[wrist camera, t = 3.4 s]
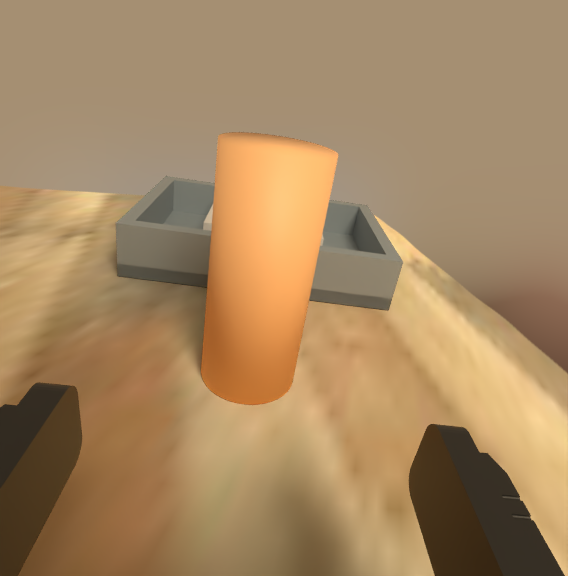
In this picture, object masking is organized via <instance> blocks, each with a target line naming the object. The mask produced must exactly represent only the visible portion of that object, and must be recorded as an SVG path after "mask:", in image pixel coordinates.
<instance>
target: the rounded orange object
mask: <svg viewBox="0 0 568 576" xmlns="http://www.w3.org/2000/svg"><path fill="white" fill-rule="evenodd" d="M337 159H338V154H337V153H336V152H335V151H333V150H331V149H329V148H327V147H324V146H321V145H318V144H314V143H311V142H307V141H302V140H298V139H293V138H287V137H281V136H275V135H268V134H259V133H244V132H232V133H223V134H220V135H219V136H218V147H217V160H216V174H215V187H214V201H213V215H212V228H211V242H210V256H209V270H208V283H207V297H206V311H205V324H204V338H203V352H202V365H201V375H202V379H203V381H204V383H205V384H206V386H207V387H208V388H209V389H210V390H211V391H212V392H213V393H214V394H216V395H218V396H219V397H221V398H223V399H225V400H228V401H231V402H235V403H239V404H248V405H256V404H264V403H268V402H272V401H274V400H276V399H278V398H280V397H282V396H283V395H284V394H285V393H287V392H288V390H289V389H290V387H291V385H292V382H293V377H294V372H295V367H296V362H297V357H298V352H299V348H300V343H301V338H302V333H303V328H304V323H305V318H306V313H307V308H308V303H309V298H310V293H311V288H312V283H313V278H314V273H315V268H316V263H317V258H318V253H319V248H320V243H321V238H322V233H323V229H324V224H325V219H326V214H327V209H328V204H329V199H330V194H331V189H332V184H333V179H334V174H335V169H336V164H337Z"/></svg>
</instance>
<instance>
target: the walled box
mask: <svg viewBox="0 0 568 576" xmlns="http://www.w3.org/2000/svg"><path fill="white" fill-rule="evenodd" d="M214 187H215V183H210V182H203V181H196V180H189V179H182V178H175V177H168V176H166V177H165V178H163V180H161V181H160V182H159V183H158V184H157V185H156V186H155V187H154V188H153V189H152V190H151V191H150V192H148V193H147V194H146V195H145V196H144V197H143V198H142V199H141V200H140V201H139V202H138V203H137V204H136V205H135V206H134V207H132V208H131V209H130V210H129V211H128V212H127V213H126V214H125V215H124V216H123V217H122V218H121V219H120V220H119V221H117V222H116V243H117V270H118V276H122V277H130V278H137V279H145V280H153V281H161V282H169V283H177V284H185V285H193V286H201V287H207V283H208V270H209V256H210V242H211V228H212V215H213V201H214ZM402 264H403V261H402V259H401V258H400V256H399V255H398V253H397V251H396V250H395V248H394V247H393V245H392V244H391V242H390V240H389V239H388V237H387V236H386V234H385V233H384V231H383V229H382V228H381V226H380V225H379V223H378V221H377V220H376V218H375V217H374V215H373V214H372V212H371V210H370V209H369V207H368V206H367V205H362V204H354V203H348V202H341V201H334V200H329V204H328V209H327V214H326V219H325V224H324V229H323V233H322V238H321V243H320V248H319V253H318V258H317V263H316V268H315V273H314V278H313V283H312V288H311V293H310V298H309V300H311V301H319V302H327V303H335V304H343V305H351V306H359V307H367V308H374V309H382V310H389V307H390V304H391V301H392V297H393V294H394V291H395V287H396V284H397V281H398V278H399V274H400V271H401V268H402Z"/></svg>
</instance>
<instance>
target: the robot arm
mask: <svg viewBox="0 0 568 576" xmlns="http://www.w3.org/2000/svg"><path fill="white" fill-rule="evenodd" d="M81 444H82V430H81V420H80V410H79V401H78V392H77V389H76V387H75V386H69V385H59V384H49V383H36V384H35V385H33V386H32V387H31V389H30V390H29V391H28V392H27V394H26V395H25V396H24V397H23V399H22V400H21V401H20V403H19V404H18V405H17V406H16V405H6V404H5V405H3V406H2V407H0V576H18V574H19V572H20V570H21V568H22V566H23V564H24V563H25V561H26V559H27V557H28V555H29V553H30V551H31V549H32V547H33V545H34V543H35V541H36V540H37V538H38V536H39V534H40V532H41V530H42V528H43V526H44V524H45V522H46V520H47V518H48V517H49V515H50V513H51V511H52V509H53V507H54V505H55V503H56V501H57V499H58V497H59V495H60V494H61V492H62V490H63V488H64V486H65V484H66V482H67V480H68V478H69V476H70V474H71V472H72V470H73V469H74V467H75V465H76V462H77V460H78V457H79V453H80V450H81ZM409 490H410V496H411V499H412V503H413V506H414V509H415V512H416V516H417V519H418V522H419V525H420V529H421V532H422V535H423V539H424V542H425V545H426V548H427V552H428V555H429V558H430V561H431V565H432V568H433V571H434V574H435V576H565V575H564V574H563V572H562V570H561V568H560V567H559V565H558V563H557V561H556V559H555V558H554V556H553V554H552V552H551V551H550V549H549V547H548V545H547V543H546V542H545V540H544V538H543V536H542V535H541V533H540V531H539V529H538V528H537V526H536V524H535V522H534V521H533V520H531V518H530V516H531V515H530V513H529V512H528V510H527V508H526V506H525V504H524V503H523V501H520V496H519V494H518V492H517V490H516V489H515V487H514V485H513V483H512V481H511V480H510V478H509V476H508V474H507V473H506V472H505V471H504V470H503V469H502V468H501V467H500V466H499V465H498V464H497V463H496V462H495V461H494V460H493V459H492V458H491V456H490V455H489V454H488V453H480V452H479V451H478V449H477V447H476V445H475V443H474V441H473V439H472V437H471V436H470V434H469V432H468V431H467V430H466V429H465V428H463V427H456V426H446V425H437V424H430V425H429V426H428V427H427V429H426V431H425V433H424V436H423V438H422V441H421V443H420V446H419V448H418V451H417V453H416V456H415V458H414V461H413V463H412V466H411V469H410V473H409Z"/></svg>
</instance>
